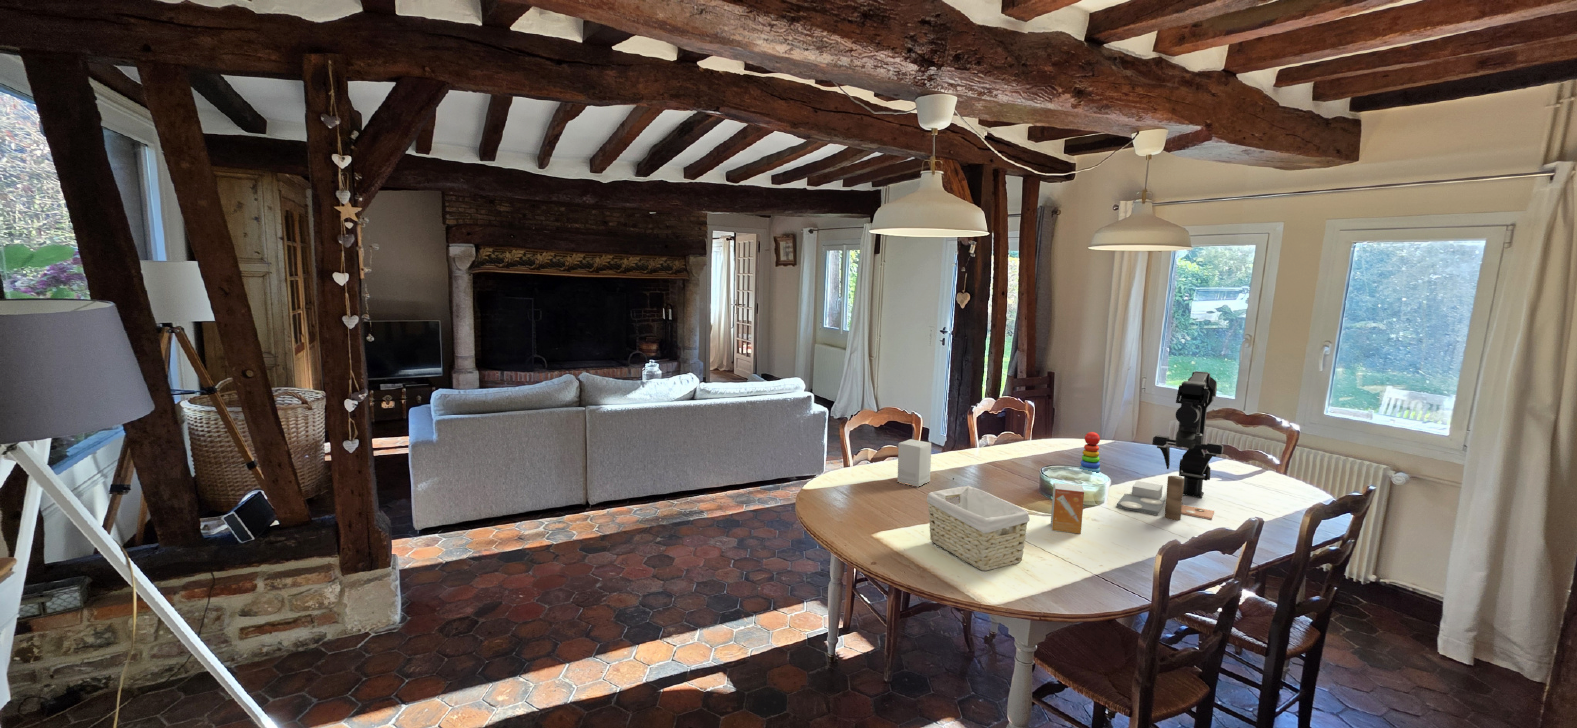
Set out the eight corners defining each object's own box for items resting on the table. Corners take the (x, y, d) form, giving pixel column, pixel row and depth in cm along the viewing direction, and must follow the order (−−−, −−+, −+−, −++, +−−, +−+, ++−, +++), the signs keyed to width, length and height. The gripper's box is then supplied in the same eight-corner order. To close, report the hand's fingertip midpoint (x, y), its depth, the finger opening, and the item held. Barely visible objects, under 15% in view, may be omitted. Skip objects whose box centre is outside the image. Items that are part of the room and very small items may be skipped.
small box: (1051, 530, 197) (1054, 488, 195) (1050, 523, 203) (1053, 482, 201) (1081, 534, 195) (1084, 491, 193) (1079, 526, 201) (1082, 484, 199)
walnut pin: (1165, 514, 212) (1169, 474, 210) (1181, 517, 209) (1185, 477, 208) (1163, 518, 208) (1166, 478, 207) (1179, 521, 206) (1183, 480, 204)
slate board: (1124, 496, 228) (1125, 493, 228) (1164, 504, 221) (1164, 500, 221) (1115, 508, 217) (1115, 504, 217) (1156, 516, 210) (1157, 512, 209)
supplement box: (930, 482, 242) (932, 442, 240) (918, 488, 235) (920, 447, 233) (909, 477, 248) (910, 438, 246) (896, 482, 241) (897, 442, 239)
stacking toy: (1103, 485, 240) (1106, 435, 238) (1079, 484, 242) (1083, 434, 240) (1097, 479, 248) (1101, 430, 246) (1074, 478, 250) (1078, 429, 247)
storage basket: (1029, 564, 174) (1033, 510, 172) (982, 576, 167) (985, 519, 165) (967, 532, 195) (969, 484, 193) (922, 541, 188) (924, 491, 186)
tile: (1178, 505, 220) (1178, 503, 220) (1214, 512, 214) (1214, 510, 214) (1175, 512, 214) (1175, 510, 214) (1211, 519, 208) (1211, 517, 208)
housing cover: (1136, 491, 234) (1136, 480, 234) (1161, 496, 229) (1162, 485, 229) (1131, 497, 228) (1132, 486, 227) (1157, 502, 223) (1158, 490, 223)
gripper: (1151, 420, 207) (1146, 469, 208) (1222, 428, 196) (1217, 480, 197) (1157, 417, 216) (1152, 465, 217) (1225, 426, 205) (1220, 475, 206)
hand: (1184, 471), depth 209 cm, fingers open, 9 cm apart
